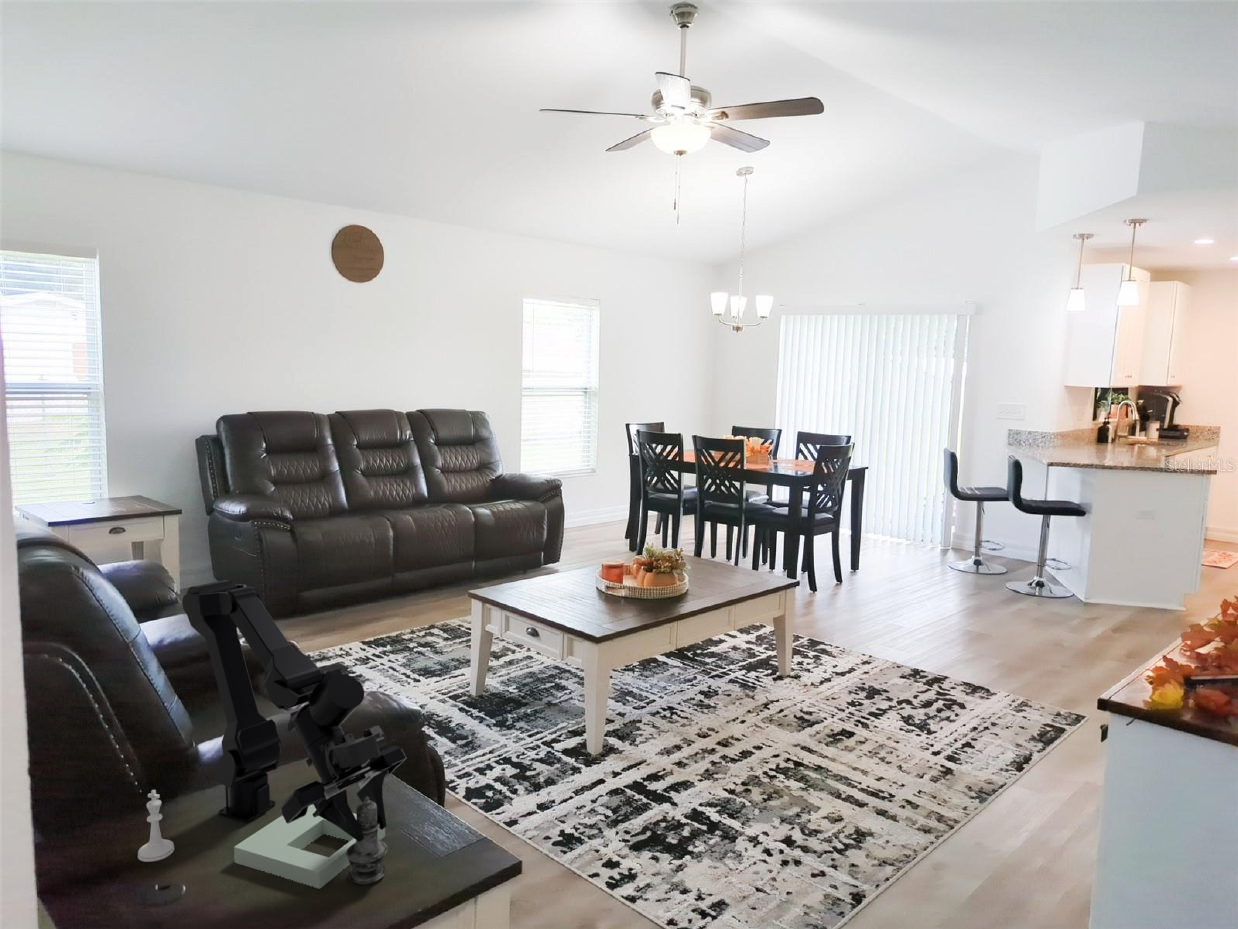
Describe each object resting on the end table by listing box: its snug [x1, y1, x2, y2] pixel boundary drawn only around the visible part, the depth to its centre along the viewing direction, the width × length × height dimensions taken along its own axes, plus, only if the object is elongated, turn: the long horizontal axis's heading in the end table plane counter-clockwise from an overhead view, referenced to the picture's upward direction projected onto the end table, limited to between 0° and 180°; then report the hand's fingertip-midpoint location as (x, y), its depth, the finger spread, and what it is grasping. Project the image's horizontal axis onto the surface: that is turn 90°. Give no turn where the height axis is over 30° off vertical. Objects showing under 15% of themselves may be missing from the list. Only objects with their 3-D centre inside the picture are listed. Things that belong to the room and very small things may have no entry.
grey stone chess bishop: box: [346, 796, 389, 885], centre depth 124 cm, size 6×6×12 cm
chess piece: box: [137, 789, 175, 863], centre depth 129 cm, size 5×5×10 cm
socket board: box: [233, 804, 386, 890], centre depth 131 cm, size 16×15×2 cm
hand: (373, 834), depth 123 cm, fingers closed on grey stone chess bishop, 4 cm apart
